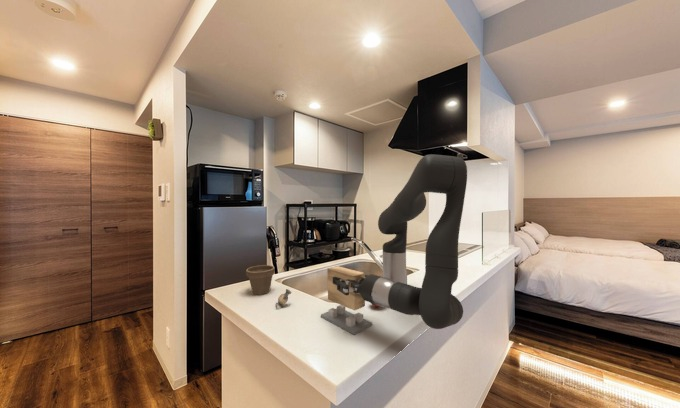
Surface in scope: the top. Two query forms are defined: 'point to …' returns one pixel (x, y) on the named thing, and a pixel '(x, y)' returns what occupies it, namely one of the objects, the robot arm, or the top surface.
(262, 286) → the flower pot
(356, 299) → the brown rectangular block
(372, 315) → the top surface
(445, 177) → the robot arm
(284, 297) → the vase
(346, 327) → the peg stand
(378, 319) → the top surface
